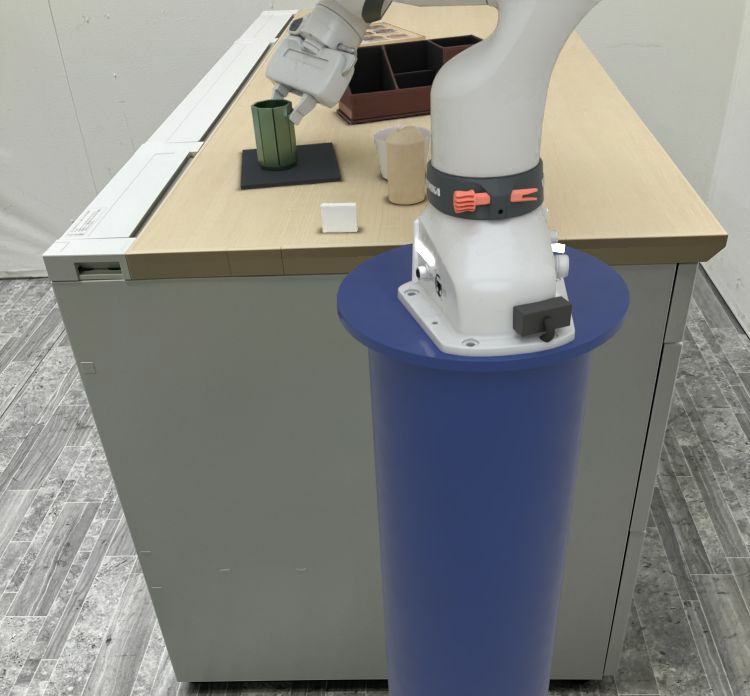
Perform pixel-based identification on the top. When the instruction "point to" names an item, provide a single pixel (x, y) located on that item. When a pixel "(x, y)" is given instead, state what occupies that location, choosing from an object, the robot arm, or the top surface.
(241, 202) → the top surface
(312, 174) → the mat
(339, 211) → the eraser
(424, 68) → the desk organizer
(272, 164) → the bucket
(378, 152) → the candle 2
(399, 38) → the wooden box
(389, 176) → the candle
